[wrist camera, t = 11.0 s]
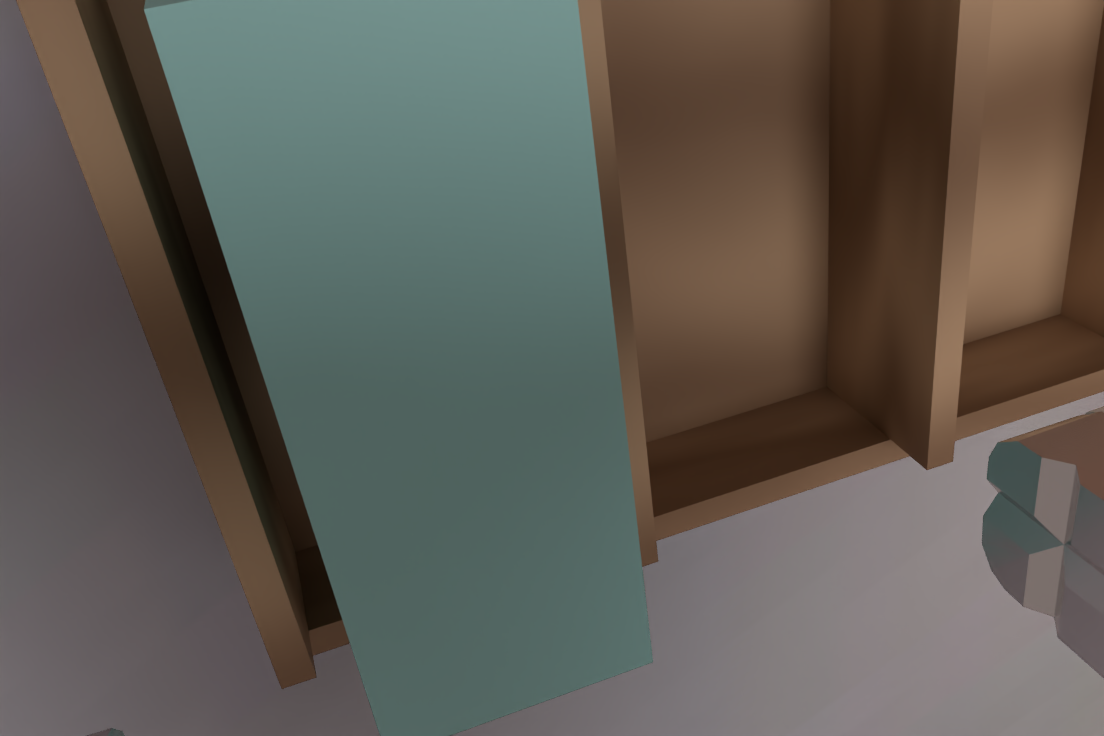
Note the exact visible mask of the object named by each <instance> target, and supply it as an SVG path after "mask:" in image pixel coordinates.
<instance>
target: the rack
mask: <svg viewBox="0 0 1104 736" xmlns="http://www.w3.org/2000/svg"><path fill="white" fill-rule="evenodd" d="M16 1H17V4H18V6H19V9H20V12H21V14H22V17H23V19H24V22H25V25H26V27H27V30H28V32H29V35H30V38H31V40H32V43H33V45H34V48H35V51H36V53H37V56H38V58H39V61H40V64H41V66H42V69H43V71H44V74H45V77H46V79H47V82H48V84H49V87H50V89H51V92H52V95H53V97H54V100H55V102H56V105H57V108H58V110H59V113H60V115H61V118H62V121H63V123H64V126H65V128H66V131H67V134H68V136H69V139H70V141H71V144H72V147H73V149H74V152H75V154H76V157H77V159H78V162H79V165H80V167H81V170H82V172H83V175H84V178H85V180H86V183H87V185H88V188H89V191H90V193H91V196H92V198H93V201H94V204H95V206H96V209H97V211H98V214H99V217H100V219H101V222H102V224H103V227H104V229H105V232H106V235H107V237H108V240H109V242H110V245H111V248H112V250H113V253H114V255H115V258H116V261H117V263H118V266H119V268H120V271H121V274H122V276H123V279H124V281H125V284H126V287H127V289H128V292H129V294H130V297H131V300H132V302H133V305H134V307H135V310H136V312H137V315H138V318H139V320H140V323H141V325H142V328H143V331H144V333H145V336H146V338H147V341H148V344H149V346H150V349H151V351H152V354H153V357H154V359H155V362H156V364H157V367H158V370H159V372H160V375H161V377H162V380H163V382H164V385H165V388H166V390H167V393H168V395H169V398H170V401H171V403H172V406H173V408H174V411H175V414H176V416H177V419H178V421H179V424H180V427H181V429H182V432H183V434H184V437H185V440H186V442H187V445H188V447H189V450H190V453H191V455H192V458H193V460H194V463H195V465H196V468H197V471H198V473H199V476H200V478H201V481H202V484H203V486H204V489H205V491H206V494H207V497H208V499H209V502H210V504H211V507H212V510H213V512H214V515H215V517H216V520H217V523H218V525H219V528H220V530H221V533H222V535H223V538H224V541H225V543H226V546H227V548H228V551H229V554H230V556H231V559H232V561H233V564H234V567H235V569H236V572H237V574H238V577H239V580H240V582H241V585H242V587H243V590H244V593H245V595H246V598H247V600H248V603H249V605H250V608H251V611H252V613H253V616H254V618H255V621H256V624H257V626H258V629H259V631H260V634H261V637H262V639H263V642H264V644H265V647H266V650H267V652H268V655H269V657H270V660H271V663H272V665H273V668H274V670H275V673H276V676H277V678H278V681H279V683H280V686H281V688H282V689H284V688H287V687H289V686H292V685H295V684H298V683H301V682H304V681H307V680H310V679H313V678H316V671H315V665H314V659H313V655H316V654H319V653H322V652H325V651H328V650H331V649H334V648H337V647H340V646H343V645H346V644H349V643H350V642H349V639H348V636H347V633H346V630H345V626H344V623H343V620H342V617H341V614H340V611H339V608H338V605H337V602H336V599H335V596H334V593H333V590H332V586H331V583H330V580H329V577H328V574H327V571H326V568H325V565H324V562H323V559H322V556H321V553H320V550H319V547H318V543H317V540H316V537H315V534H314V531H313V528H312V525H311V522H310V519H309V516H308V513H307V510H306V507H305V503H304V500H303V497H302V494H301V491H300V488H299V485H298V482H297V479H296V476H295V473H294V470H293V467H292V464H291V460H290V457H289V454H288V451H287V448H286V445H285V442H284V439H283V436H282V433H281V430H280V427H279V424H278V420H277V417H276V414H275V411H274V408H273V405H272V402H271V399H270V396H269V393H268V390H267V387H266V384H265V381H264V377H263V374H262V371H261V368H260V365H259V362H258V359H257V356H256V353H255V350H254V347H253V344H252V341H251V337H250V334H249V331H248V328H247V325H246V322H245V319H244V316H243V313H242V310H241V307H240V304H239V301H238V297H237V294H236V291H235V288H234V285H233V282H232V279H231V276H230V273H229V270H228V267H227V264H226V261H225V258H224V254H223V251H222V248H221V245H220V242H219V239H218V236H217V233H216V230H215V227H214V224H213V221H212V218H211V214H210V211H209V208H208V205H207V202H206V199H205V196H204V193H203V190H202V187H201V184H200V181H199V178H198V175H197V171H196V168H195V165H194V162H193V159H192V156H191V153H190V150H189V147H188V144H187V141H186V138H185V135H184V131H183V128H182V125H181V122H180V119H179V116H178V113H177V110H176V107H175V104H174V101H173V98H172V95H171V92H170V88H169V85H168V82H167V79H166V76H165V73H164V70H163V67H162V64H161V61H160V58H159V55H158V52H157V48H156V45H155V42H154V39H153V36H152V33H151V30H150V27H149V24H148V21H147V18H146V15H145V12H144V5H145V0H16ZM578 8H579V17H580V26H581V35H582V44H583V52H584V61H585V70H586V79H587V87H588V96H589V105H590V114H591V122H592V131H593V140H594V149H595V158H596V166H597V175H598V184H599V193H600V201H601V210H602V219H603V228H604V237H605V245H606V254H607V263H608V272H609V280H610V289H611V298H612V307H613V316H614V324H615V333H616V342H617V351H618V359H619V368H620V377H621V386H622V395H623V403H624V412H625V421H626V430H627V438H628V447H629V456H630V465H631V474H632V482H633V491H634V500H635V509H636V517H637V526H638V535H639V544H640V553H641V561H642V567H643V566H646V565H649V564H652V563H655V562H658V554H657V545H656V541H657V540H660V539H663V538H666V537H669V536H672V535H675V534H678V533H681V532H684V531H687V530H690V529H693V528H696V527H699V526H702V525H705V524H708V523H711V522H714V521H717V520H720V519H723V518H726V517H729V516H732V515H735V514H738V513H741V512H744V511H747V510H750V509H753V508H756V507H759V506H762V505H765V504H768V503H771V502H774V501H777V500H780V499H783V498H786V497H789V496H792V495H795V494H798V493H801V492H804V491H807V490H810V489H813V488H816V487H819V486H822V485H825V484H828V483H831V482H834V481H837V480H840V479H843V478H846V477H849V476H852V475H855V474H858V473H861V472H864V471H867V470H870V469H873V468H876V467H879V466H882V465H885V464H888V463H891V462H894V461H897V460H900V459H903V458H906V457H909V456H911V457H912V458H913V459H914V460H915V461H917V462H918V463H919V464H920V465H921V466H923V467H924V468H925V469H926V470H929V469H932V468H935V467H938V466H941V465H944V464H947V463H950V462H953V455H954V443H955V441H956V440H959V439H962V438H965V437H968V436H971V435H974V434H977V433H980V432H983V431H986V430H989V429H992V428H995V427H998V426H1001V425H1004V424H1007V423H1010V422H1013V421H1016V420H1019V419H1022V418H1025V417H1028V416H1031V415H1034V414H1037V413H1040V412H1043V411H1046V410H1049V409H1052V408H1055V407H1058V406H1061V405H1064V404H1067V403H1070V402H1073V401H1076V400H1079V399H1082V398H1085V397H1088V396H1091V395H1094V394H1097V393H1100V392H1103V391H1104V0H578Z"/></svg>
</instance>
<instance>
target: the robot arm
mask: <svg viewBox="0 0 1104 736" xmlns="http://www.w3.org/2000/svg"><path fill="white" fill-rule="evenodd" d="M987 480H988V481H989V482H990V483H991V485H992V486H993V487H994V488H995V489H996V490H997V492H998V494H997V496H996V497H995V499H994V500H993V502H992V503H991V505H990V506H989V508H988V509H987V511H986V512H985V514H984V516H983V531H982V545H983V548H984V551H985V554H986V557H987V560H988V562H989V565H990V568H991V571H992V572H993V574H994V575H995V576H996V578H997V579H998V581H999V582H1000V584H1001V585H1002V586H1003V588H1004V589H1005V590H1006V591H1007V592H1008V593H1009V594H1010V595H1011V596H1012V597H1013V598H1014V599H1016V600H1017V601H1018V602H1019V603H1020V604H1021V605H1022V606H1023V607H1026V608H1029V609H1032V610H1035V611H1038V612H1041V613H1044V614H1047V615H1050V616H1053V617H1054V620H1055V625H1056V631H1057V637H1058V638H1059V639H1060V640H1061V641H1062V642H1063V643H1064V644H1065V645H1067V646H1068V647H1069V648H1070V649H1071V650H1072V651H1073V652H1074V653H1076V654H1077V655H1078V656H1079V657H1080V658H1081V659H1082V660H1084V661H1085V662H1086V663H1087V664H1088V665H1089V666H1090V667H1091V668H1093V669H1094V670H1095V671H1096V672H1097V673H1098V674H1099V675H1100V676H1102V677H1103V678H1104V406H1103V407H1101V408H1098V409H1095V410H1092V411H1089V412H1087V413H1086V414H1085V415H1080V416H1076V417H1073V418H1070V419H1067V420H1064V421H1061V422H1058V423H1055V424H1052V425H1049V426H1046V427H1043V428H1040V429H1037V430H1034V431H1031V432H1028V433H1025V434H1022V435H1019V436H1016V437H1013V438H1010V439H1007V440H1004V441H1001V442H998V443H997V445H996V446H995V448H994V450H993V451H992V453H991V455H990V456H989V462H988V471H987ZM87 736H125V735H124V734H123V732H122V731H120V730H117V729H113V728H110V729H107V730H104V731H100V732H97V733H94V734H90V735H87Z"/></svg>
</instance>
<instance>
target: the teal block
mask: <svg viewBox="0 0 1104 736" xmlns="http://www.w3.org/2000/svg"><path fill="white" fill-rule="evenodd" d="M144 12H145V15H146V18H147V21H148V24H149V27H150V30H151V33H152V36H153V39H154V42H155V45H156V48H157V52H158V55H159V58H160V61H161V64H162V67H163V70H164V73H165V76H166V79H167V82H168V85H169V88H170V92H171V95H172V98H173V101H174V104H175V107H176V110H177V113H178V116H179V119H180V122H181V125H182V128H183V131H184V135H185V138H186V141H187V144H188V147H189V150H190V153H191V156H192V159H193V162H194V165H195V168H196V171H197V175H198V178H199V181H200V184H201V187H202V190H203V193H204V196H205V199H206V202H207V205H208V208H209V211H210V214H211V218H212V221H213V224H214V227H215V230H216V233H217V236H218V239H219V242H220V245H221V248H222V251H223V254H224V258H225V261H226V264H227V267H228V270H229V273H230V276H231V279H232V282H233V285H234V288H235V291H236V294H237V297H238V301H239V304H240V307H241V310H242V313H243V316H244V319H245V322H246V325H247V328H248V331H249V334H250V337H251V341H252V344H253V347H254V350H255V353H256V356H257V359H258V362H259V365H260V368H261V371H262V374H263V377H264V381H265V384H266V387H267V390H268V393H269V396H270V399H271V402H272V405H273V408H274V411H275V414H276V417H277V420H278V424H279V427H280V430H281V433H282V436H283V439H284V442H285V445H286V448H287V451H288V454H289V457H290V460H291V464H292V467H293V470H294V473H295V476H296V479H297V482H298V485H299V488H300V491H301V494H302V497H303V500H304V503H305V507H306V510H307V513H308V516H309V519H310V522H311V525H312V528H313V531H314V534H315V537H316V540H317V543H318V547H319V550H320V553H321V556H322V559H323V562H324V565H325V568H326V571H327V574H328V577H329V580H330V583H331V586H332V590H333V593H334V596H335V599H336V602H337V605H338V608H339V611H340V614H341V617H342V620H343V623H344V626H345V630H346V633H347V636H348V639H349V642H350V645H351V648H352V651H353V654H354V657H355V660H356V663H357V666H358V669H359V673H360V676H361V679H362V682H363V685H364V688H365V691H366V694H367V697H368V700H369V703H370V706H371V709H372V713H373V716H374V719H375V722H376V725H377V728H378V731H379V734H380V736H451V735H453V734H456V733H459V732H462V731H464V730H467V729H470V728H473V727H475V726H478V725H481V724H484V723H486V722H489V721H492V720H495V719H498V718H500V717H503V716H506V715H509V714H511V713H514V712H517V711H520V710H522V709H525V708H528V707H531V706H533V705H536V704H539V703H542V702H544V701H547V700H550V699H553V698H555V697H558V696H561V695H564V694H567V693H569V692H572V691H575V690H578V689H580V688H583V687H586V686H589V685H591V684H594V683H597V682H600V681H602V680H605V679H608V678H611V677H613V676H616V675H619V674H622V673H624V672H627V671H630V670H633V669H636V668H638V667H641V666H644V665H647V664H649V663H652V662H653V658H652V649H651V640H650V632H649V623H648V614H647V605H646V596H645V588H644V579H643V570H642V561H641V553H640V544H639V535H638V526H637V517H636V509H635V500H634V491H633V482H632V474H631V465H630V456H629V447H628V438H627V430H626V421H625V412H624V403H623V395H622V386H621V377H620V368H619V359H618V351H617V342H616V333H615V324H614V316H613V307H612V298H611V289H610V280H609V272H608V263H607V254H606V245H605V237H604V228H603V219H602V210H601V201H600V193H599V184H598V175H597V166H596V158H595V149H594V140H593V131H592V122H591V114H590V105H589V96H588V87H587V79H586V70H585V61H584V52H583V44H582V35H581V26H580V17H579V8H578V0H145V5H144Z"/></svg>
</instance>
